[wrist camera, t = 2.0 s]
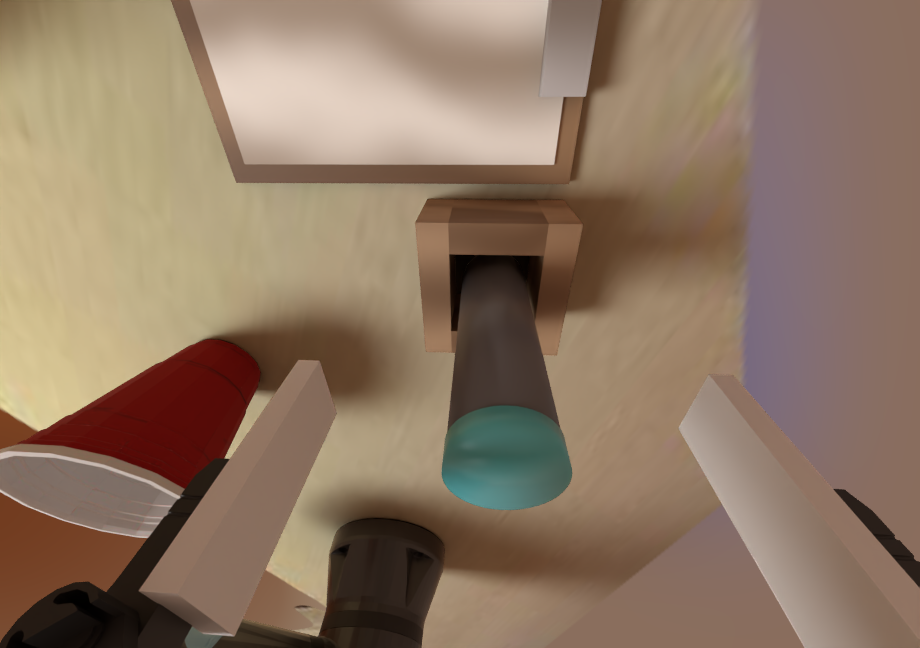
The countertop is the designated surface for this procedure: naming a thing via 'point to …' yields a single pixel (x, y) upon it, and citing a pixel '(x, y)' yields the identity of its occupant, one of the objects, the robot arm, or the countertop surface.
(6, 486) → the plastic cup
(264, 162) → the clipboard
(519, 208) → the stand
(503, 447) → the marker
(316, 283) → the countertop surface
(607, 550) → the countertop surface
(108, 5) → the countertop surface
